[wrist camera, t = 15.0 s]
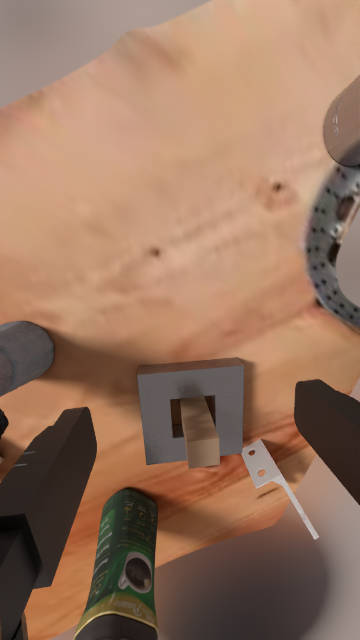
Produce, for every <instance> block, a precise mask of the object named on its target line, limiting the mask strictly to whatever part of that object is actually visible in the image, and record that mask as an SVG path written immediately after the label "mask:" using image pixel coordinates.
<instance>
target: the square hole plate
mask: <svg viewBox="0 0 360 640" xmlns="http://www.w3.org/2000/svg"><path fill="white" fill-rule="evenodd" d="M137 379H138V389H139V398H140V408H141V417H142V427H143V436H144V446H145V455H146V465H152V464H159V463H167V462H175V461H183V460H188V459H187V453H186V446H185V440H184V433H183V427H182V424H178V425H172V422H171V407H170V399H180V398H189V397H199V396H209V395H211V417H212V420H213V422H214V425H215V428H216V431H217V433H218V436H219V452H220V456H223V455H231V454H239V453H242V446H243V399H244V365H243V363H242V362H241V361H240V360H239V359H238V358H225V359H214V360H203V361H191V362H180V363H168V364H157V365H146V366H139V368H138V373H137Z"/></svg>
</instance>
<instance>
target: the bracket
mask: <svg viewBox="0 0 360 640" xmlns="http://www.w3.org/2000/svg"><path fill="white" fill-rule="evenodd" d="M251 450H255V454H254V455H252V456H250V455H249V451H251ZM241 454H242V457H243V459H244V461H245V464H246V466H247V468H248V471H249V473H250V476H251V478H252V480H253V483H254V485H255V487H256V489H257V488H259V487H261V486H263V485H265V484H266V483H268V482H270V481H274V482H276V483H278V484H280V485H282V486H283V487H284V489H285V491H286V492H287V494H288V496H289V497H290V499H291V501H292V502H293V504H294V506H295V507H296V509H297V510H298V512H299V514H300V516H301V517H302V519H303V521H304V523H305V524H306V526H307V528H308V529H309V531H310V533H311V534H312V536H313V538H314V539H317V538H319V536H318V535H317V533H316V531H315V530H314V528H313V526H312V524H311V523H310V521H309V519H308V518H307V516H306V515H305V513H304V511H303V510H302V508H301V506H300V504H299V503H298V501H297V500H296V498H295V496H294V494H293V492H292V491H291V489H290V487H289V486H288V484H287V482H286V481H285V479H284V477H283V476H282V474H281V472H280V471H279V469H278V467H277V466H276V464H275V462H274V461H273V459H272V457H271V456H270V454H269V452H268V451H267V449H266V447H265V446H264V444H263V442H262V441H261V439H259V440H257V441H255V442H254V443H252V444H250V445H248V446H246V447H245V448H243V449H242V453H241ZM261 469H264V470H265V471H266V473H265V475H264V476H259V475H258V472H259V470H261Z"/></svg>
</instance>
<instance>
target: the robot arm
mask: <svg viewBox="0 0 360 640" xmlns="http://www.w3.org/2000/svg"><path fill="white" fill-rule="evenodd" d="M324 140H325V145H326V147H327V150H328V152H329V153H330V155H331V156H332V157H333V158H334V159H335V160H336V161H337V162H339V163H340V164H342V165H347V166H356V165H359V164H360V75H359V76H358V77H357V78H356V79H355V80H354V81H353V82H352V83H351V84H350V85H349V86H348V87H347V88H346V89H344V90H343V91H342V92H341V93H340V94H339V95H338V96H337V98H336V99H335V100H334V101H333V102H332V104H331V106H330V108H329V110H328V112H327V115H326V118H325V123H324ZM294 419H295V423H296V426H297V428H298V430H299V432H300V433H301V435H302V436H303V437H304V438H305V440H306V441H307V442H308V443H309V444H310V446H311V447H312V448H313V449H314V451H315V452H316V453H317V454H318V455H319V457H320V458H321V459H322V460H323V461H324V463H325V464H326V465H327V466H328V468H329V469H330V470H331V471H332V472H333V474H334V475H335V476H336V477H337V478H338V480H339V481H340V482H341V483H342V485H343V486H344V487H345V488H346V489H347V491H348V492H349V493H350V494H351V496H352V497H353V498H354V499H355V500H356V502H357V503H358V504H359V505H360V402H359V401H357V400H356V399H354V398H352V397H350V396H348V395H345V394H343V393H341V392H339V391H336V390H334V389H333V388H331V387H330V386H329V385H327V384H326V383H324V382H323V381H322V380H319V379H315V380H307V381H299V382H297V384H296V388H295V407H294ZM96 453H97V441H96V436H95V432H94V427H93V423H92V418H91V414H90V410H89V408H88V407H81V408H73V409H66V410H64V411H63V412H62V414H61V415H60V417H59V418H58V420H57V421H56V423H55V424H54V425H53V426H48V427H47V428H46V429H45V430H44V431H42V432H41V433H40V434H39V435H38V436H36V437H35V438H34V439H33V441H32V442H31V443H30V445H29V446H28V447H27V449H26V450H25V451H24V454H23V455H21V457H20V458H19V459H18V461H17V462H16V463H15V466H14V468H12V469H11V470H10V471H9V473H8V474H7V475H6V477H5V478H4V479H3V481H2V482H1V483H0V640H28V633H27V625H26V617H25V613H24V609H25V607H26V604H27V602H28V599H29V597H30V595H31V592H32V590H33V589H37V588H43V587H49V586H51V584H52V582H53V579H54V576H55V573H56V570H57V567H58V565H59V562H60V559H61V556H62V553H63V550H64V547H65V545H66V542H67V539H68V536H69V533H70V530H71V527H72V525H73V522H74V519H75V516H76V513H77V510H78V508H79V505H80V502H81V499H82V496H83V493H84V490H85V488H86V485H87V482H88V479H89V476H90V473H91V471H92V468H93V465H94V462H95V459H96Z"/></svg>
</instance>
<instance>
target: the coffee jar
mask: <svg viewBox="0 0 360 640" xmlns="http://www.w3.org/2000/svg"><path fill="white" fill-rule="evenodd" d="M157 521H158V508H157V505H156V504H155V502H154V501H152V500H151V499H150V498H148V497H147V496H145V495H143V494H141V493H139V492H137V491H134V490H131V489H124V490H120V491H118V492H116V493H115V494H114V495H113V496H111V498H110V499H109V500H108V501H107V502H106V504H105V506H104V508H103V512H102V517H101V523H100V529H99V537H98V545H97V552H96V559H95V565H94V571H93V577H92V583H91V588H90V593H89V597H88V601H87V605H86V608H85V611H84V613H83V615H82V617H81V619H80V621H79V624H78V626H77V629H76V632H75V636H74V640H157V639H158V624H157V617H156V612H155V603H154V568H155V549H156V535H157Z"/></svg>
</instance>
